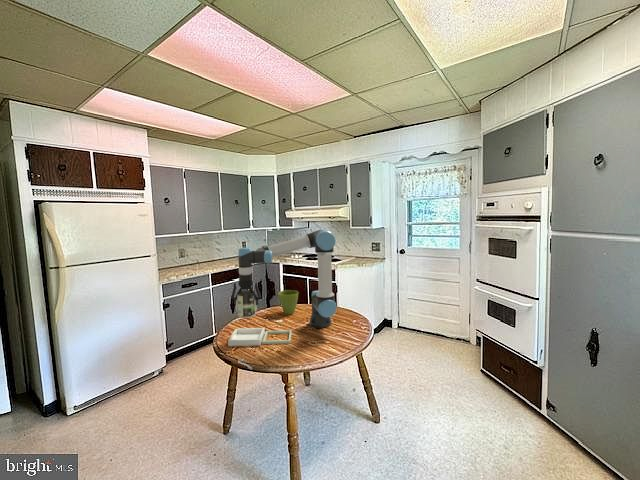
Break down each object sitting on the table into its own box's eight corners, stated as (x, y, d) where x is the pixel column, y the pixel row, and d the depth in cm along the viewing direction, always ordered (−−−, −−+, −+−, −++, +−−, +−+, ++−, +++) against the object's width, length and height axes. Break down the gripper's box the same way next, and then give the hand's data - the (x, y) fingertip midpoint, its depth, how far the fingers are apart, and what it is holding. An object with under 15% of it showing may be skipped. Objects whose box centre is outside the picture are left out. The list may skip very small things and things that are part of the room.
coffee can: (258, 312, 182) (257, 290, 181) (250, 318, 172) (250, 294, 171) (242, 312, 184) (241, 289, 183) (234, 317, 174) (233, 293, 173)
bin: (264, 333, 189) (264, 327, 188) (260, 345, 171) (260, 339, 171) (235, 334, 188) (235, 328, 188) (228, 346, 170) (228, 340, 170)
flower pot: (275, 313, 227) (274, 292, 226) (289, 308, 239) (288, 289, 237) (288, 317, 218) (288, 296, 216) (302, 312, 229) (302, 292, 228)
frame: (291, 332, 189) (291, 330, 189) (290, 343, 174) (290, 340, 173) (266, 333, 189) (266, 330, 189) (262, 344, 173) (262, 341, 173)
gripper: (265, 272, 180) (266, 308, 182) (227, 272, 179) (228, 309, 181) (263, 274, 173) (264, 312, 175) (224, 275, 172) (225, 313, 174)
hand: (246, 310), depth 178 cm, fingers closed on coffee can, 10 cm apart
